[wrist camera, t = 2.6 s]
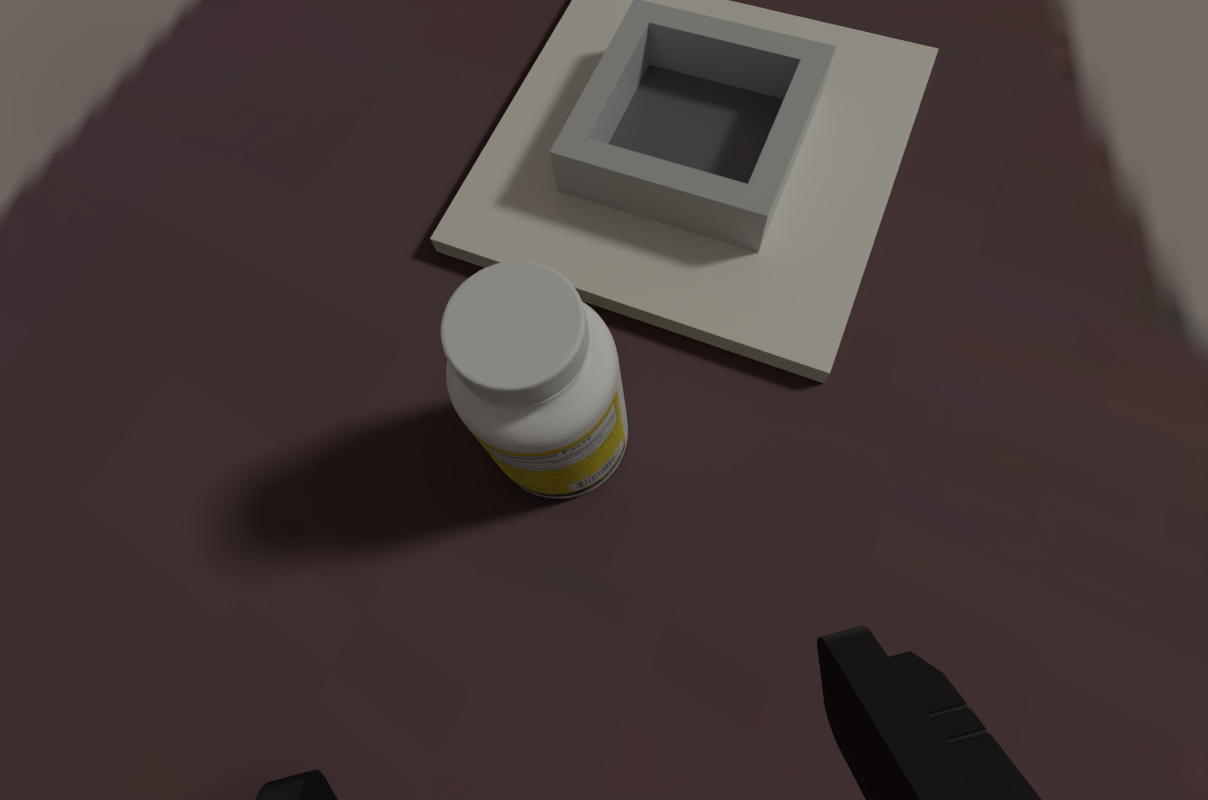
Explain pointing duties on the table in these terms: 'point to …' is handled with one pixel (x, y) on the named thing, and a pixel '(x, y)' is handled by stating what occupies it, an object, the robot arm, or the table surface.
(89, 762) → the table surface
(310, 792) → the robot arm
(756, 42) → the socket dock
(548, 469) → the supplement bottle
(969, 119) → the table surface
